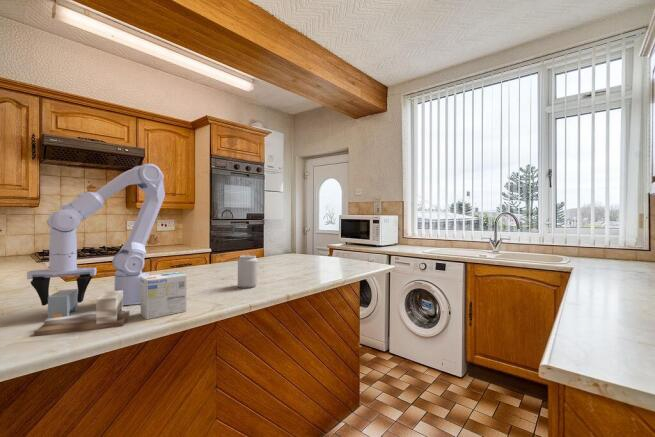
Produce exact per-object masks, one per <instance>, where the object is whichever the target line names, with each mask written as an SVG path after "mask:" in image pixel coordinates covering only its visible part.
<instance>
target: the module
mask: <svg viewBox="0 0 655 437" xmlns="http://www.w3.org/2000/svg"><path fill="white" fill-rule="evenodd" d="M77 298H78V288H71V289H60V290H58V291H56V292H55V293H53V294H50V296H49V297H48V304H47V318H56V317H66V316H70V312H77V311H78V310H79V306H78V305H79V303H78V300H77Z"/></svg>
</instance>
